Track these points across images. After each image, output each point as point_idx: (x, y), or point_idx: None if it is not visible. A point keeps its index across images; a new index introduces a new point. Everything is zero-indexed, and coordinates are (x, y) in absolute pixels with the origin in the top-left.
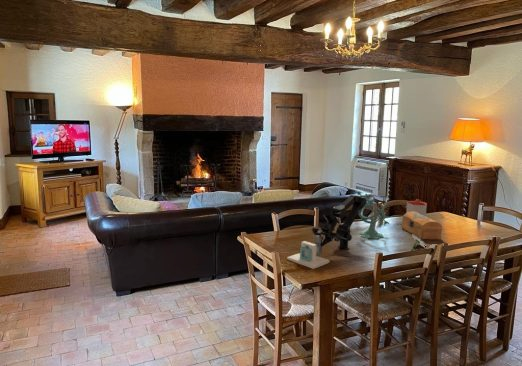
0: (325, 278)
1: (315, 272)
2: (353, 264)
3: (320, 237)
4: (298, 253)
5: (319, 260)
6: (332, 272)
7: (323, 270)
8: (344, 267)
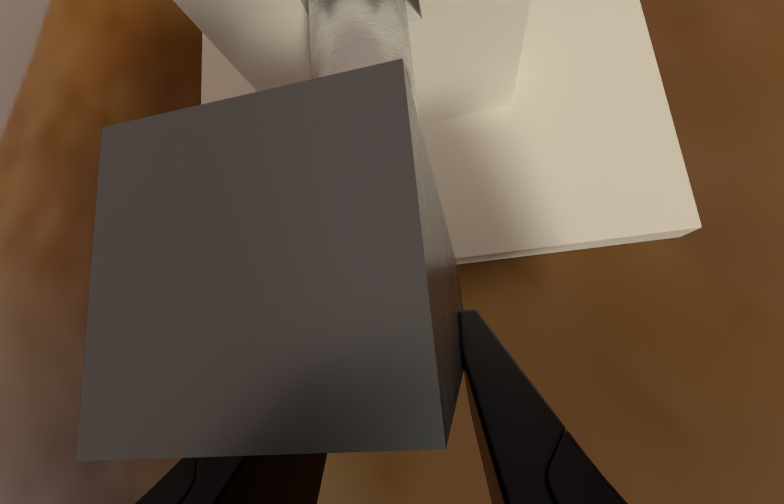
0: (49, 4)
1: (162, 2)
2: (17, 491)
3: (125, 241)
4: (659, 98)
5: None
6: (67, 129)
7: (141, 90)
8: (46, 324)
